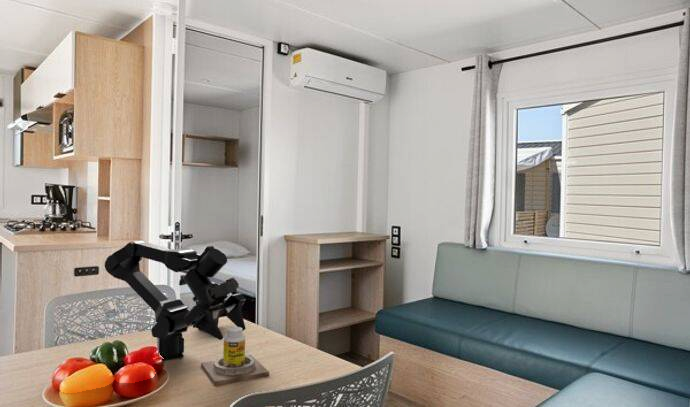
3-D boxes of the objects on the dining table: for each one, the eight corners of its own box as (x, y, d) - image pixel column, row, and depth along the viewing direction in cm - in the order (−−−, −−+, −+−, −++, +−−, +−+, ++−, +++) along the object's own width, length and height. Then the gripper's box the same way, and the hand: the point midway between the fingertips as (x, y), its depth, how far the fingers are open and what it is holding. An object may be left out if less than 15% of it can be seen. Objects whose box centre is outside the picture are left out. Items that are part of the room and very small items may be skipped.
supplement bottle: (225, 372, 120) (226, 332, 119) (221, 364, 125) (222, 326, 124) (246, 369, 122) (247, 330, 122) (241, 362, 127) (242, 324, 127)
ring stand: (214, 385, 114) (215, 375, 114) (201, 366, 126) (201, 357, 126) (269, 375, 121) (269, 366, 121) (250, 358, 133) (251, 349, 133)
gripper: (194, 274, 117) (228, 325, 112) (241, 264, 134) (272, 308, 129) (170, 301, 120) (202, 351, 116) (218, 288, 137) (248, 332, 133)
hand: (233, 334), depth 123 cm, fingers open, 9 cm apart
